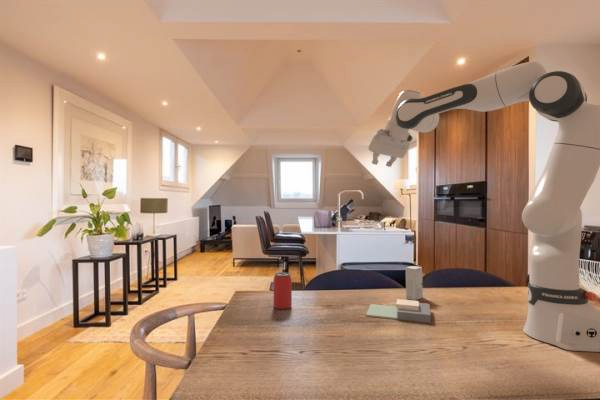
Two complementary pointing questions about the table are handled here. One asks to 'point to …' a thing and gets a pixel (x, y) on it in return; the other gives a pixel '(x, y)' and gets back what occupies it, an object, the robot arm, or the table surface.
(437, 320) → the table surface
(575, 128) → the robot arm
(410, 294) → the skincare box
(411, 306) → the tile
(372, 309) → the mat
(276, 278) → the beer can
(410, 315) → the block
